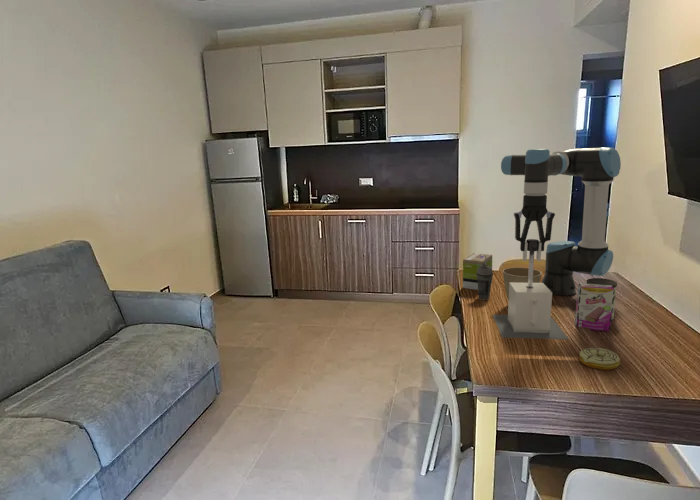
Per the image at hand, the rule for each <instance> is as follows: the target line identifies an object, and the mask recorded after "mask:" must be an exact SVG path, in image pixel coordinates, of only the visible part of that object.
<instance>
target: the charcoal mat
mask: <svg viewBox="0 0 700 500" xmlns="http://www.w3.org/2000/svg"><path fill="white" fill-rule="evenodd" d="M492 317H493V319H494V322H495V324H496V326H497V329H498V331H499V333H500V335H501V338H511V339H516V338H517V339H540V340H542V339H543V340H546V339H547V340H570V338H569V337H568V336H567V334H566V333H565V332H564V331H563V330H562V328H561V327H560V326H559V325H558V322H556V321H555V320H554V318H553V317H552V316H551V319H550V333H531V332H514V331H513V329H512V327H511V325H510V323H509V321H508V314H492Z"/></svg>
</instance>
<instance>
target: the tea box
mask: <svg viewBox="0 0 700 500" xmlns="http://www.w3.org/2000/svg"><path fill="white" fill-rule="evenodd" d="M485 256H486V265H488V266H490V267H491V268H492V269H493V254H483V253H475V252H473V253H472V254H470V255H469V256H467V257H465V258H464V259H463V260H462V288H463V289H469V290H475V291H478V280H477V274H476V273H477V269H478V268H479V267H480V266H481V265H485ZM492 283H493V280H492V281H491V284H492Z"/></svg>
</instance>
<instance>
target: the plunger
mask: <svg viewBox="0 0 700 500" xmlns="http://www.w3.org/2000/svg"><path fill="white" fill-rule="evenodd" d="M539 241H540V239H537V238H536V239H534V238H529V239H527V238H526V242H527V243H528V244H527V252H529V254H528V268H529V270H528V288H532V284H533V269H534V264H535V252H537V251H538V244H539Z"/></svg>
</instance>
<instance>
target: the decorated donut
mask: <svg viewBox="0 0 700 500" xmlns="http://www.w3.org/2000/svg"><path fill="white" fill-rule="evenodd" d="M578 356H579V362H580V363H581V364H583V365H585V366H586V367H590V368H591V369H596V370H603V371H611V370H614V369H617V368H618V367H619V366H620V365H621V363H620V362H621V359H620V356H619V355H618V354H617V353H616V352H614V351H612V350H610V349H607V348H601V347H587V348H584V349H582V350H580V352H579V355H578Z"/></svg>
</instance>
